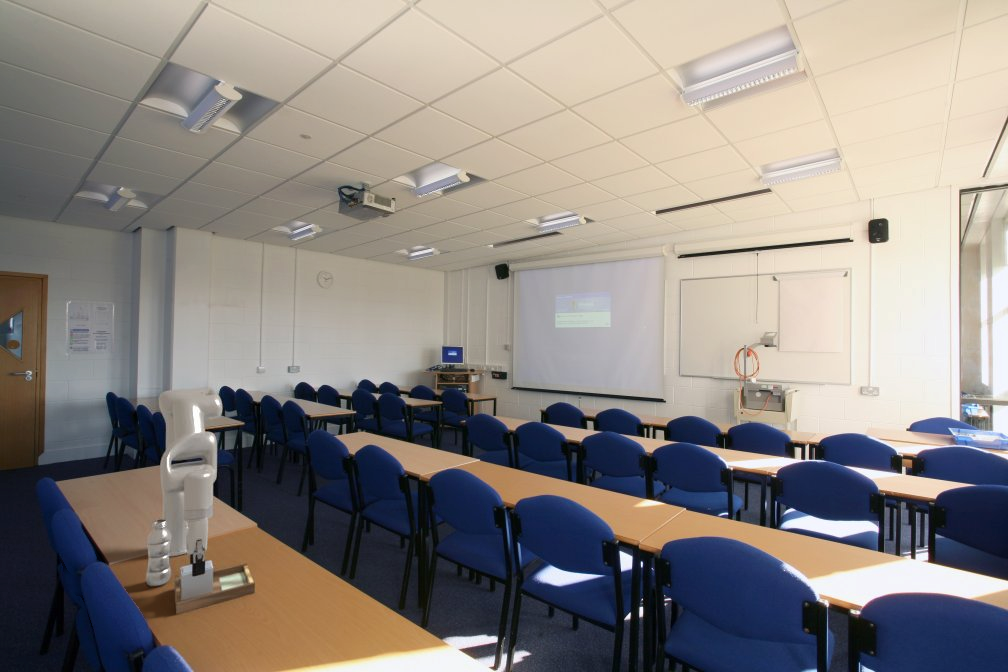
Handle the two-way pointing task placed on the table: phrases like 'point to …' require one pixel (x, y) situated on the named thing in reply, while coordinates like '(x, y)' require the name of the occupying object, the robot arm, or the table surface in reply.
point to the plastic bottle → (158, 554)
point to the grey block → (196, 582)
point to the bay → (218, 588)
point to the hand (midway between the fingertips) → (197, 568)
